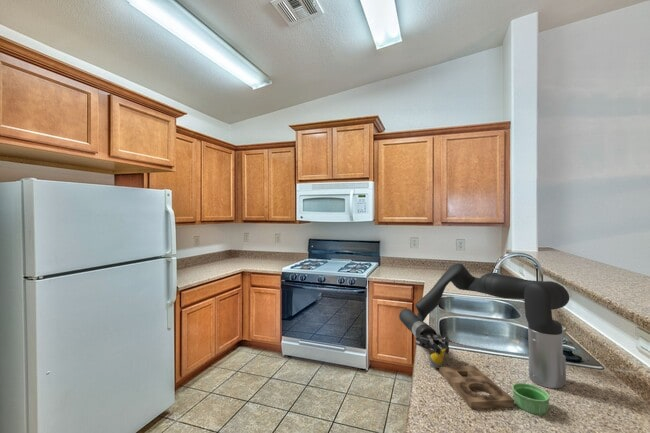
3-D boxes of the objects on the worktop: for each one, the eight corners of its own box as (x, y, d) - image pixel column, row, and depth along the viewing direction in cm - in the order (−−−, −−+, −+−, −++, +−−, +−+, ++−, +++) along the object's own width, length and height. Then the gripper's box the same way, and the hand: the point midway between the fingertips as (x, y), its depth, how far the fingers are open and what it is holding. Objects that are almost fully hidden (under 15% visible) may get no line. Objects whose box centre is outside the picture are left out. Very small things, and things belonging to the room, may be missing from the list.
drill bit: (431, 360, 113) (447, 343, 109) (438, 373, 108) (455, 356, 105) (421, 358, 111) (436, 340, 108) (427, 371, 107) (444, 353, 103)
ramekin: (531, 418, 81) (530, 402, 81) (505, 399, 90) (504, 384, 90) (558, 414, 82) (557, 398, 83) (530, 395, 91) (529, 381, 91)
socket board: (474, 371, 106) (474, 365, 106) (514, 406, 86) (514, 399, 86) (439, 372, 105) (439, 367, 105) (471, 409, 85) (471, 402, 85)
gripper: (440, 341, 124) (462, 360, 106) (407, 342, 123) (424, 362, 105) (439, 323, 124) (462, 340, 106) (407, 324, 123) (424, 341, 105)
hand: (443, 351), depth 106 cm, fingers closed on drill bit, 2 cm apart
